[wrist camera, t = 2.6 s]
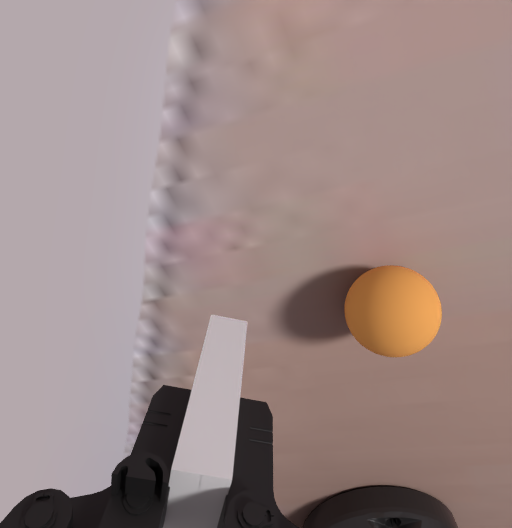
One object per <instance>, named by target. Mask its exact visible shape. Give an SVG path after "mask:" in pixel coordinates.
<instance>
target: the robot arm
mask: <svg viewBox="0 0 512 528" xmlns="http://www.w3.org/2000/svg"><path fill="white" fill-rule="evenodd" d="M246 331H247V321H242V320H237V319H232V318H227V317H222V316H216V315H211V318H210V322H209V325H208V329H207V333H206V337H205V341H204V345H203V349H202V352H201V356H200V360H199V364H198V368H197V372H196V376H195V379H194V383H193V387H192V390H189V389H183V388H178V387H172V386H166V385H163V386H162V387H161V388H160V389H159V390H158V391H157V392H156V393H155V394H154V395H153V397H152V400H151V403H150V405H149V408H148V411H147V413H146V416H145V418H144V421H143V424H142V426H141V429H140V432H139V434H138V437H137V440H136V442H135V445H134V447H133V450H132V453H131V455H130V456H128V457H126V458H125V459H124V460H122V461H121V462H120V463H119V464H118V465H117V466H116V468H115V470H114V471H113V473H112V482H111V484H112V485H111V486H110V487H108V488H107V489H105V490H103V491H101V492H97V493H94V494H90V495H84V496H79V497H74V498H69V496H67V495H66V494H65V493H64V492H62V491H61V490H56V489H46V490H40V491H37V492H35V493H33V494H31V495H29V496H27V497H25V498H24V499H23V500H22V501H21V502H20V503H18V504H17V505H16V506H15V507H14V508H13V509H12V511H11V512H10V513H9V514H8V515H7V516H6V517H5V519H4V520H3V521H2V522H1V523H0V528H299V527H297V526H295V525H294V524H292V523H291V522H290V521H288V520H287V519H286V518H285V517H284V516H283V515H282V513H281V512H280V510H279V509H278V507H277V505H276V502H275V499H274V493H273V445H272V443H273V433H272V431H273V417H272V414H271V411H270V409H269V407H268V405H267V403H266V402H261V401H256V400H250V399H245V398H240V393H241V383H242V373H243V362H244V352H245V341H246ZM303 528H458V526H457V524H456V522H455V519H454V517H453V515H452V513H451V512H450V510H449V509H448V508H447V507H446V506H445V505H444V504H443V503H442V502H440V501H439V500H437V499H436V498H434V497H432V496H430V495H428V494H425V493H422V492H419V491H416V490H412V489H407V488H400V487H369V488H363V489H357V490H353V491H349V492H346V493H343V494H340V495H338V496H335V497H333V498H331V499H329V500H327V501H325V502H324V503H322V504H321V505H319V506H318V507H317V508H316V509H315V510H314V511H313V512H312V513H311V514H310V515H309V516H308V518H307V519H306V521H305V523H304V526H303Z"/></svg>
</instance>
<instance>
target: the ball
mask: <svg viewBox="0 0 512 528" xmlns="http://www.w3.org/2000/svg"><path fill="white" fill-rule="evenodd" d="M441 317H442V309H441V303H440V300H439V297H438V295H437V293H436V291H435V289H434V288H433V286H432V285H431V284H430V283H429V281H427V280H426V279H425V278H424V277H423V276H422V275H420V274H418V273H417V272H415V271H413V270H411V269H408V268H405V267H401V266H381V267H377V268H374V269H371V270H369V271H367V272H365V273H364V274H362V275H361V276H360V277H359V278H358V279H357V280H356V281H355V282H354V283H353V284H352V286H351V287H350V289H349V291H348V293H347V297H346V300H345V318H346V322H347V325H348V327H349V330H350V331H351V333H352V335H353V336H354V337H355V339H356V340H357V341H358V342H359V343H360V344H361V345H362V346H364V347H365V348H366V349H368V350H370V351H372V352H374V353H376V354H379V355H383V356H387V357H403V356H408V355H412V354H414V353H416V352H419V351H420V350H422V349H423V348H425V347H426V346H427V345H428V344H429V343H430V342H431V341H432V340H433V339H434V337H435V336H436V334H437V332H438V330H439V327H440V324H441Z"/></svg>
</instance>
